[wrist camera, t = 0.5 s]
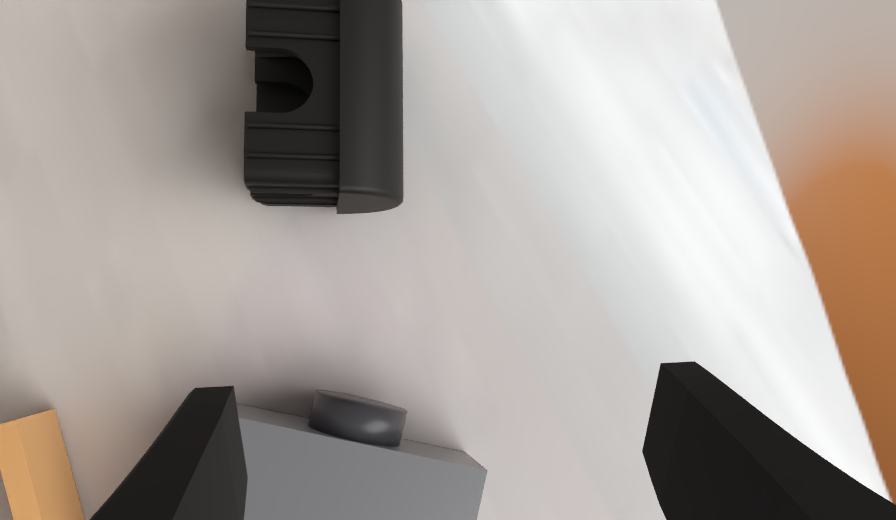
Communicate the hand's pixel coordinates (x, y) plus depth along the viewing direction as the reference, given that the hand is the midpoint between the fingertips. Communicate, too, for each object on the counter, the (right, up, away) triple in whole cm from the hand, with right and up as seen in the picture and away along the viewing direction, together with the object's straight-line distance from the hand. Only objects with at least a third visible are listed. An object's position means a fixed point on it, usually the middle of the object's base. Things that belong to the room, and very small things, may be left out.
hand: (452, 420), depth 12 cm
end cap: (-6, +10, +26) cm, 29 cm away
